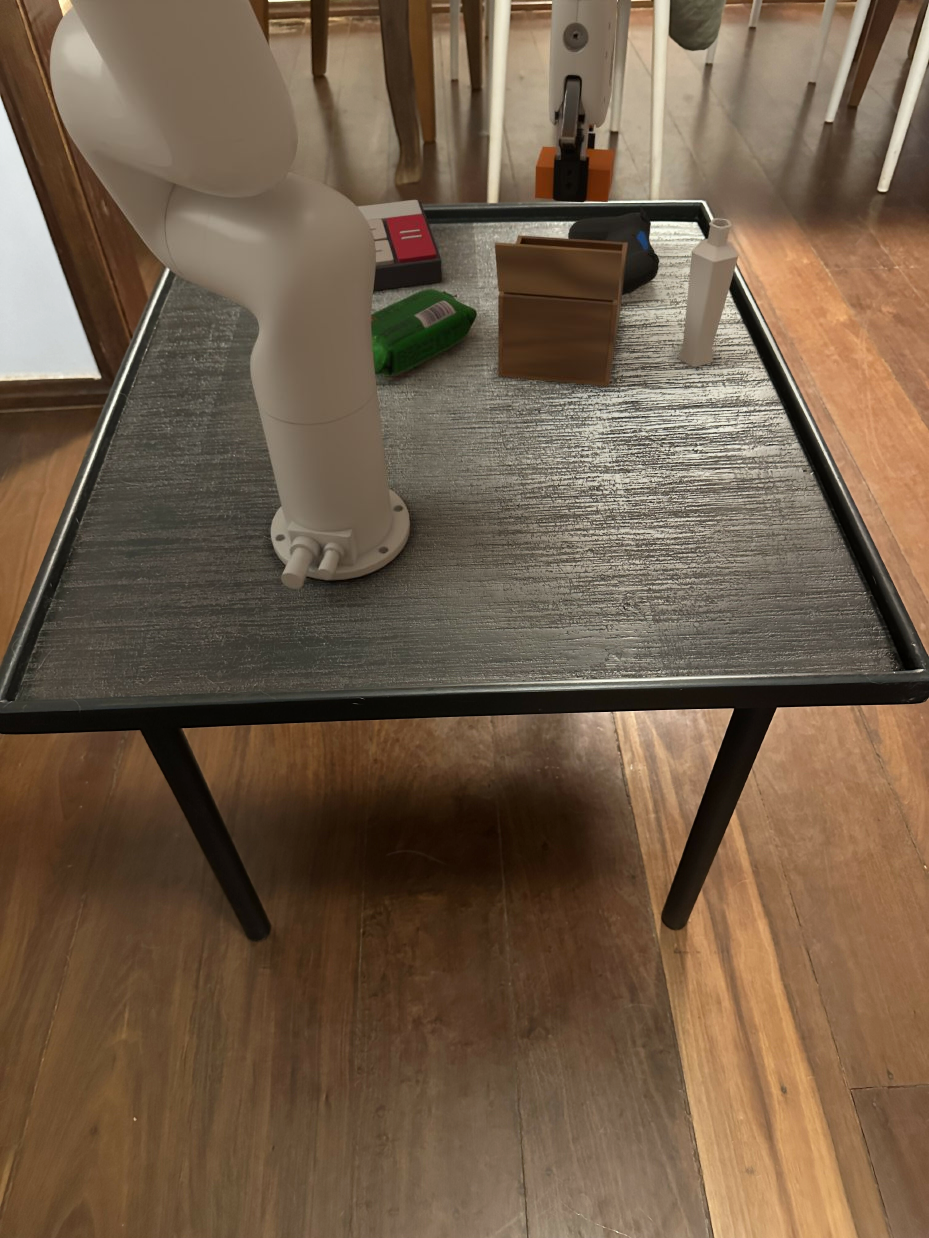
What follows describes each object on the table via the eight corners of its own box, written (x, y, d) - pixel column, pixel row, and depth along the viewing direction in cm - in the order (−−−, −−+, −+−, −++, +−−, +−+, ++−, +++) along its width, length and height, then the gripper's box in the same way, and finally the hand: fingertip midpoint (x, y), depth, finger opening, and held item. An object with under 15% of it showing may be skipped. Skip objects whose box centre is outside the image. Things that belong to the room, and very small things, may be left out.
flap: (618, 298, 90) (617, 300, 90) (498, 289, 92) (498, 291, 92) (622, 250, 84) (622, 253, 84) (495, 242, 86) (494, 244, 86)
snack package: (489, 337, 105) (488, 295, 101) (380, 392, 98) (376, 349, 94) (448, 314, 108) (446, 272, 104) (341, 365, 102) (335, 323, 98)
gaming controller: (591, 329, 109) (669, 288, 105) (568, 291, 106) (648, 247, 102) (582, 260, 120) (653, 220, 116) (562, 223, 117) (634, 181, 113)
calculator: (351, 265, 109) (336, 204, 118) (355, 298, 112) (340, 235, 121) (441, 254, 110) (420, 193, 119) (443, 286, 113) (421, 225, 123)
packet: (607, 202, 87) (610, 170, 85) (534, 198, 88) (535, 166, 86) (612, 181, 90) (614, 149, 88) (541, 177, 91) (542, 146, 89)
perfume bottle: (672, 366, 100) (694, 232, 88) (676, 344, 103) (698, 211, 91) (715, 371, 99) (743, 236, 88) (717, 349, 102) (745, 215, 90)
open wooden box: (609, 386, 98) (617, 305, 91) (498, 376, 99) (498, 296, 92) (619, 321, 106) (628, 242, 99) (516, 313, 108) (518, 235, 101)
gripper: (622, -2, 69) (602, 232, 83) (639, -64, 80) (619, 153, 94) (524, -5, 70) (521, 227, 84) (553, -65, 81) (546, 149, 95)
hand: (572, 186), depth 89 cm, fingers closed on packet, 4 cm apart
